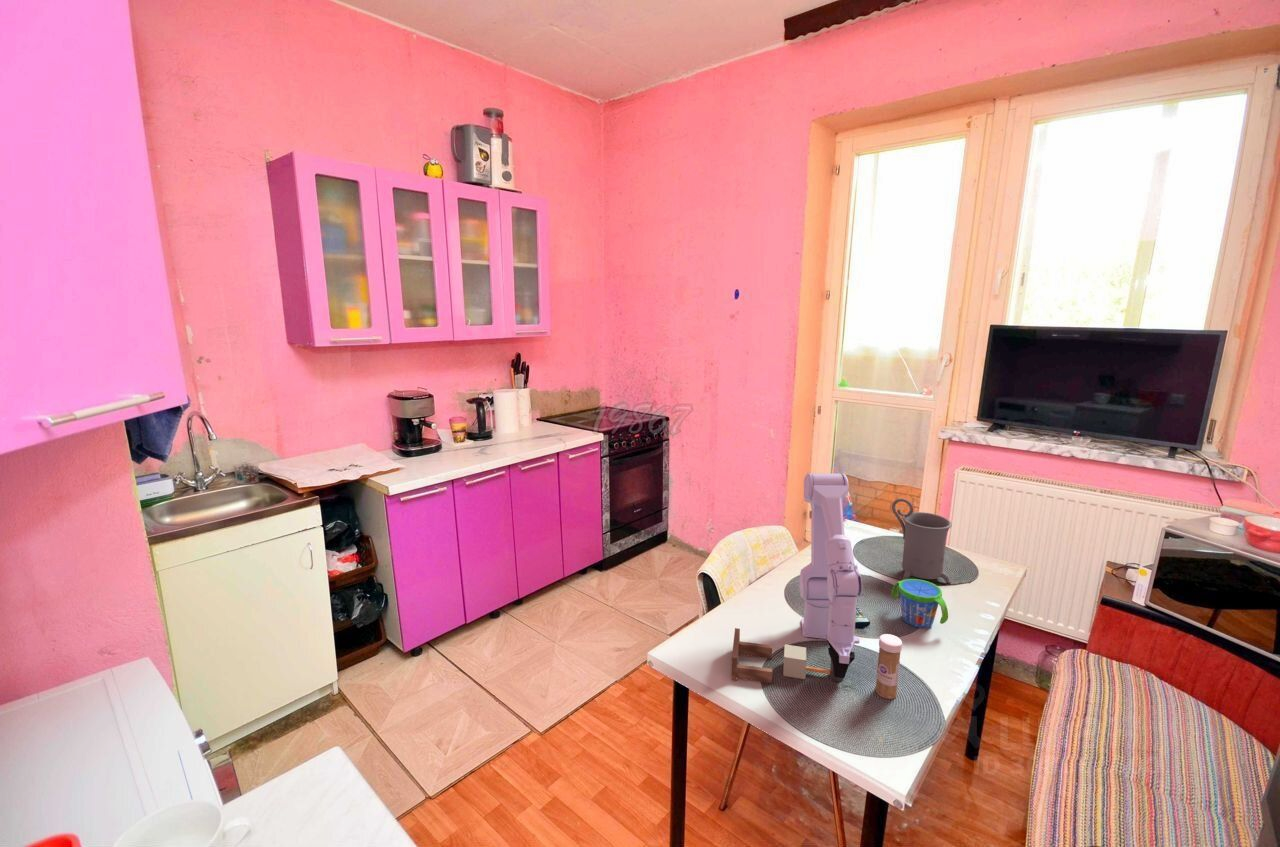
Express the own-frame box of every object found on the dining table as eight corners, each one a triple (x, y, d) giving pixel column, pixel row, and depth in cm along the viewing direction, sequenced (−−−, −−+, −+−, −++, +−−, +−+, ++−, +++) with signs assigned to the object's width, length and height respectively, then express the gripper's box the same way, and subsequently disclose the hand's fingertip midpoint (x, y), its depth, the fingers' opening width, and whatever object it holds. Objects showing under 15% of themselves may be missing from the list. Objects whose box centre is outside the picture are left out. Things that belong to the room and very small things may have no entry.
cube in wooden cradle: (771, 653, 135) (772, 632, 134) (771, 685, 124) (772, 662, 122) (734, 649, 137) (735, 628, 136) (731, 680, 126) (731, 657, 124)
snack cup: (880, 611, 153) (883, 578, 151) (908, 603, 157) (911, 571, 155) (926, 641, 139) (929, 605, 137) (956, 632, 142) (960, 597, 140)
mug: (954, 574, 173) (962, 501, 168) (947, 594, 162) (956, 515, 157) (892, 559, 184) (897, 490, 179) (881, 577, 173) (887, 503, 168)
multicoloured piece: (842, 672, 128) (844, 649, 127) (844, 685, 123) (845, 662, 122) (783, 662, 132) (784, 640, 130) (783, 675, 127) (784, 653, 126)
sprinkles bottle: (872, 693, 120) (876, 640, 118) (878, 683, 124) (883, 630, 121) (894, 703, 118) (898, 648, 115) (899, 691, 121) (904, 638, 118)
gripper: (865, 639, 115) (861, 695, 118) (855, 604, 129) (852, 655, 131) (831, 635, 117) (827, 690, 119) (824, 601, 130) (821, 651, 133)
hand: (838, 671), depth 125 cm, fingers closed on multicoloured piece, 3 cm apart
